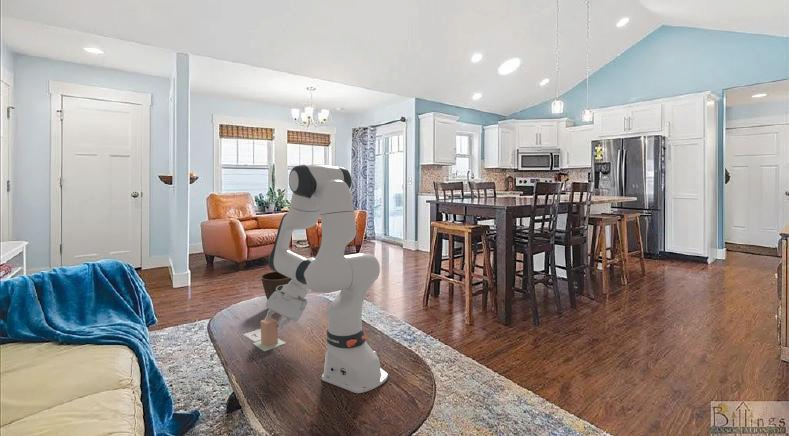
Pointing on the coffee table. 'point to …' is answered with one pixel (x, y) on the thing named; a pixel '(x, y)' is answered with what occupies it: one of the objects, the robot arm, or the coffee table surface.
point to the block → (269, 332)
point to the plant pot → (273, 282)
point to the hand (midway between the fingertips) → (272, 324)
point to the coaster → (268, 346)
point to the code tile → (254, 335)
